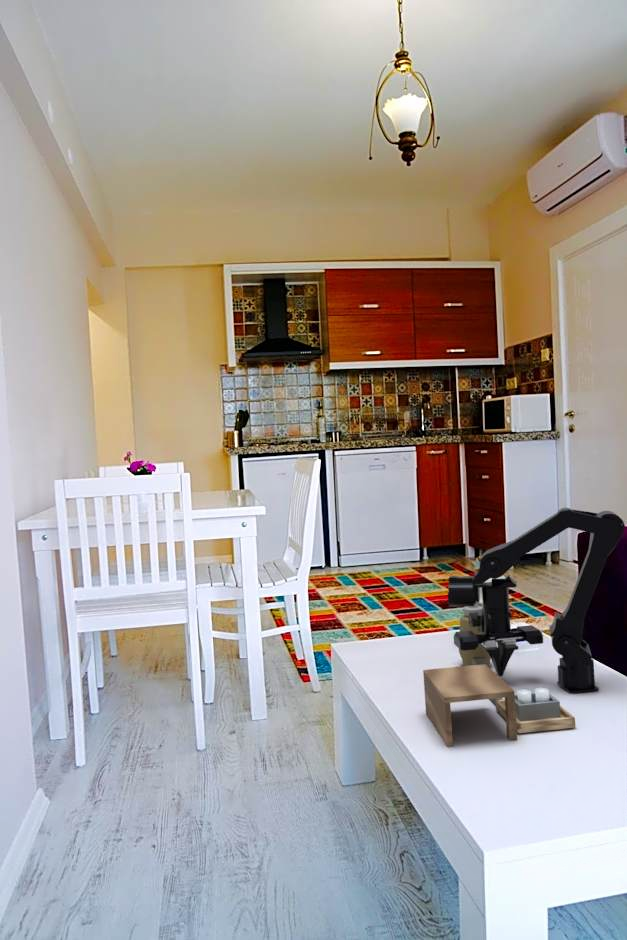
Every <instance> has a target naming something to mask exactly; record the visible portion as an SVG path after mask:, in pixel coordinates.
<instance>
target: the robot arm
mask: <svg viewBox="0 0 627 940" xmlns="http://www.w3.org/2000/svg"><path fill="white" fill-rule="evenodd" d="M566 529H575V530H577V531H582V532H584V533H585V532H586V533H590V536H589V545H588V550H587V553H586V556H585V557H584V560H583V563H582V566H581V569H580V572H579V573H578V577H577V580H576V582H575V585H574V587H573V590H572V593H571V596H570V598H569V601H568V604H567V606H566V608H565V609H564V610H563V612H562V613H559V612H557V611H555V612H554V617H553V622H552V623H551V624H550V626H549V627H548V628H549V629H548V630H549V636H550V637H551V639H550V640H551V645H552V647H553V650H554V651H555V652H556V653H557V654H558V655H560V656H562V657H559V665H557V673H558V674H557V678H558V680H557V684H558V685H559V686H560V687H562V688H563V689H564V690H565V691H566V692H568V693H569V694H575V693H576V694H577V693H588V692H594V691H595V692H596V691H599V690H600V688H599V687H598V686H597V685H596V681H595V665H594V664H595V662H594V659H593V656H592V652H591V649H590V646H589V644H588V643H587V642H586V641H585V640H584V639H583V632H584V625H585V616H586V614H587V611H588V609H589V606H590V603H591V601H592V598H593V596H594V593H595V590H596V588H597V585H598V583H599V580H600V577H601V575H602V572H603V569H604V567H605V564H606V562H607V559H608V557H609V556H610V554H611V553H612V552H613V550H614V549H615V548H616V547H617V545H618V543H619V542H620V541H621V538H622V537H623V535H624V534H625V530H626V525H625V522H624V520H623V519H622V518H621V517H620V516H619V515H618V514H616V512H613V511H610V510H603V511H600V512H598V513H597V512H592V511H591V512H590V511H584V510H579V509H578V510H577V509H572V508H569V507H562V508H559V510H558V511H557V512H556V513H554V514H553V515H551V516H549V517H548V518H546V519H545V520H543V521H542V522H540V523H538V524H536V525H535V526H534V527H532V528H530V529H529V530H528V531H526V532H524V533H522V534H521V535H519V536H518V537H516V538H514V539H512V540H510V541H508V542H505V543H501V544H499V545H497V546H494V547H492V548H490V549H488V550H487V549H486V550H485V551H484V552H483V554H482V556H481V558H480V561H479V562H480V568H479V569H476V571H474V573H473V576H458V575H450V576H449V578H448V591H447V600H448V602H447V603H448V606H449V607H466V606H475V604H476V602H477V603H478V602H480V591H479V587H482V599H483V609H482V611H481V612H482V615H481V616H479V615H478V613H477V612H475V613H469V614H468V615H469V626H470V627H477V628H478V631H481V632H484V633H485V634H480V635H475V634H474V633H473V632H472V631H460V630H459V631H456V632H454V634H453V644H454V645H455V647H457V648H458V650H459V649H460V650H475V649H476V648H477V647H478V646H479V645H480V647H482V648H483V649H484V650H485V651H486V652H488V654H489V655H490V657H491V659H490V661H491V662H492V665H493V667H494V669H495V672H496V674H497V675H498V676H499V677H503V676H504V674H505V671H506V669H507V666H508V663H509V661H510V659H511V657H512V656H513V653H514V652H515V651H516V650H518V649H519V646H518V645H517V641H521V640H522V641H524V640H525V641H526V642H527V643H528V644H529V645H540V644H543V643H544V634H543V632H542V631H541V629H538V628H537V627H536V626H534V625H532V624H531V625H521V626H517V628H516V629H515V630H516V631H512V630H511V619H512V618H513V616H512V615H513V614H512V612H511V611H510V610H511V609H510V597H509V596H510V594H509V592H510V591H509V588H517V581H516V580H515V579H514V578H512V577H511V575H510V574H508V575H506V577H505V578H504V579H495V578H499V577H501V576H504V575H505V574H506V573H507V572H508V571H509V570H510V569H511V568H512V567H513V566H514V565H515V564H517V562H518V561H519V560H520V559H522V557H524V556H525V555H527V554H528V553H530V552H531V551H533V550H535V549H537V548H538V547H540V546H541V545H542V544H544V543H546V542H548V541H549V540H551V539H552V538H554V537H555V536H557V535H559V534H561V532H563V531H565V530H566ZM490 578H493V579H492V582H485V581H487V580H488V579H490ZM496 642H497V644H498V647H497V646H496ZM478 643H479V645H478Z"/></svg>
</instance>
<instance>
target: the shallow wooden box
mask: <svg viewBox="0 0 627 940" xmlns="http://www.w3.org/2000/svg"><path fill="white" fill-rule="evenodd" d="M482 664H486V665H487V660H486V659H485V658H484V657H473V658H472V665H482ZM490 701H492V703H493V704H494V705H495V710H496V711H497V712H498V713H499V714H500V715H501V716H502V718H503V719H504V720H505V721H506V711H505V698H494V699H490ZM560 715H561V717H558V718H548V719H538V720H528V721H519V720H518V719H517V718H516V726H517V734H524V733H534V732H543V731H544V732H545V731H553V730H564V729H571V728H573V729H574V728H576V718H575V716H573V715H572V714H571V713H570V712H569V711H567V710H566V709H565V708H564V707H563V706H562V705H560Z"/></svg>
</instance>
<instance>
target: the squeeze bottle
mask: <svg viewBox="0 0 627 940" xmlns="http://www.w3.org/2000/svg"><path fill="white" fill-rule="evenodd" d="M482 609H483V607H481V606H479V603H478V602H476V604H475V606H463V614H462V616H461V617H460V618H459V632H460V631H472V632H473V633H474V634H475V635H480V634H485V633H484V632H481V631H478V628H477V627H470V626H469V615H468V614H469V613H475V612H477V613H478V615H479V616H481V615H482V612H481V611H482ZM478 645H479V643H478ZM458 653H459V655H460V658H461V660H462V663H463V666H472V658H473V657H484V658H485V659H486V660H487V666H488V667H489V666H490V662H491V657H490V655H489V654H488V652H486V651H485V650H484V649H483V648H482V647H480V645H479V646H478V647H477V648H476V649H475V650H460V649H459V648H458Z"/></svg>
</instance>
